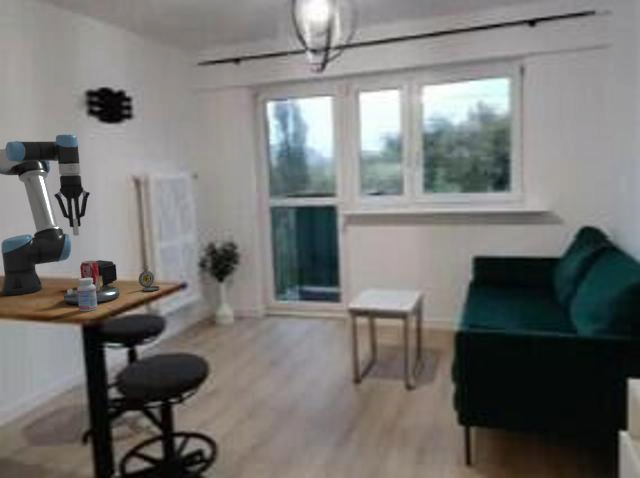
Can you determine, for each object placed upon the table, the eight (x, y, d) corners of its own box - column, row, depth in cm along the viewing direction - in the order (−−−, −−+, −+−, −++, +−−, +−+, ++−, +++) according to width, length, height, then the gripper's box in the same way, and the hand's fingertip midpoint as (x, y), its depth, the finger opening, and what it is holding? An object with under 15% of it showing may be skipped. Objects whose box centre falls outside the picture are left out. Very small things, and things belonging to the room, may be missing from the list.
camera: (81, 289, 240) (101, 289, 231) (77, 263, 239) (96, 262, 230) (103, 284, 248) (123, 284, 239) (99, 259, 247) (119, 258, 238)
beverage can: (80, 294, 212) (77, 263, 211) (85, 291, 218) (82, 260, 217) (97, 293, 213) (94, 262, 211) (102, 290, 219) (99, 259, 217)
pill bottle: (75, 311, 198) (72, 280, 197) (88, 307, 204) (85, 277, 202) (88, 312, 196) (85, 281, 195) (101, 308, 202) (98, 277, 200)
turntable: (75, 291, 227) (73, 277, 227) (126, 288, 230) (124, 274, 229) (56, 305, 205) (54, 289, 204) (113, 301, 207) (111, 285, 207)
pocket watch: (154, 292, 225) (152, 267, 223) (135, 291, 226) (133, 267, 225) (164, 287, 233) (162, 263, 231) (146, 287, 234) (144, 263, 233)
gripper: (53, 175, 210) (60, 237, 213) (90, 174, 218) (95, 234, 221) (50, 175, 216) (56, 236, 220) (85, 174, 224) (91, 232, 227)
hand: (76, 235), depth 220 cm, fingers closed
